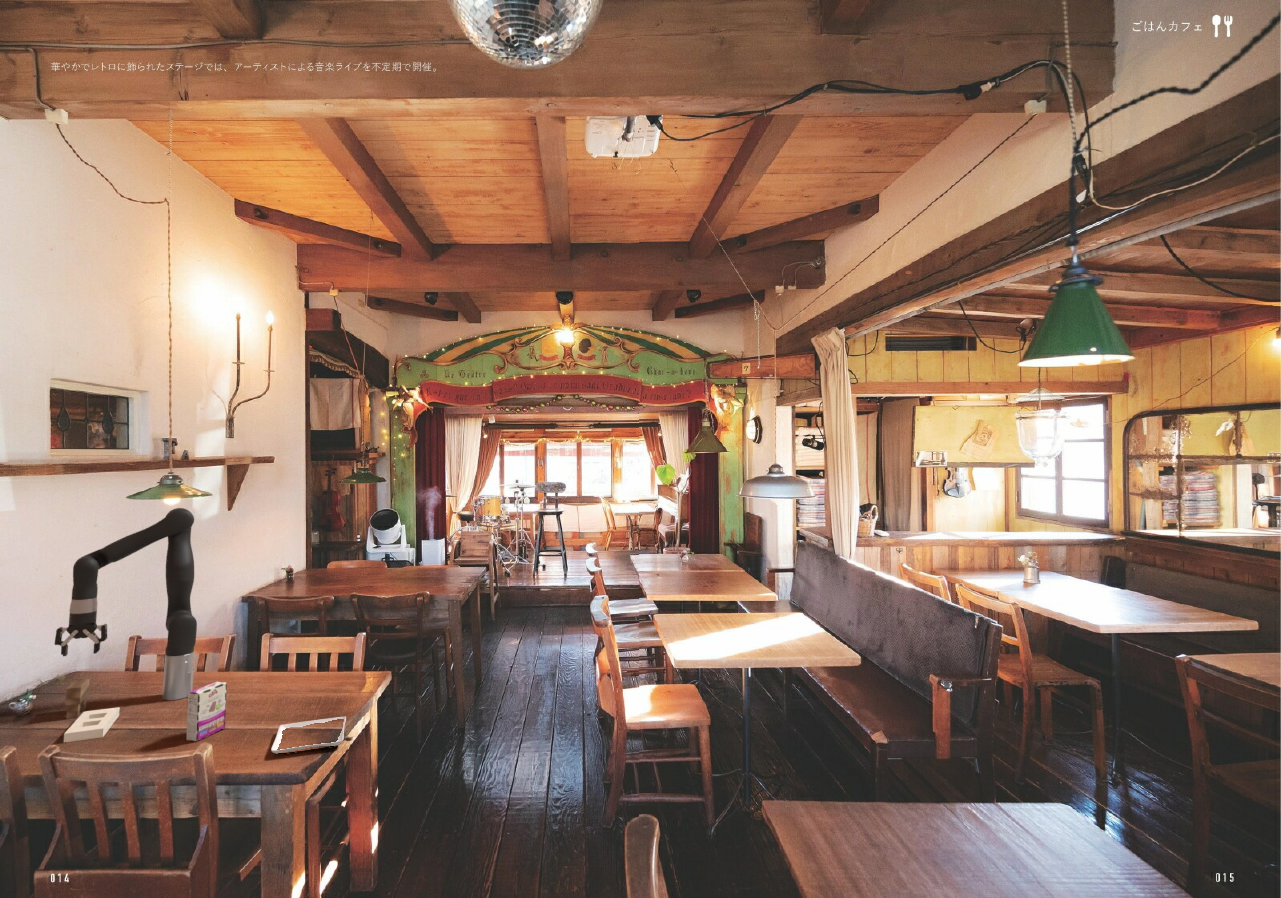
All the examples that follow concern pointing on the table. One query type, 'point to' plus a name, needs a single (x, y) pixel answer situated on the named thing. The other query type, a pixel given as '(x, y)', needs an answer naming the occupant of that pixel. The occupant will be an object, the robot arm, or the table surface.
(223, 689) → the candy bar box
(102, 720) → the slotted block
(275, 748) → the rectangular frame
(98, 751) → the table surface
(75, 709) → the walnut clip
